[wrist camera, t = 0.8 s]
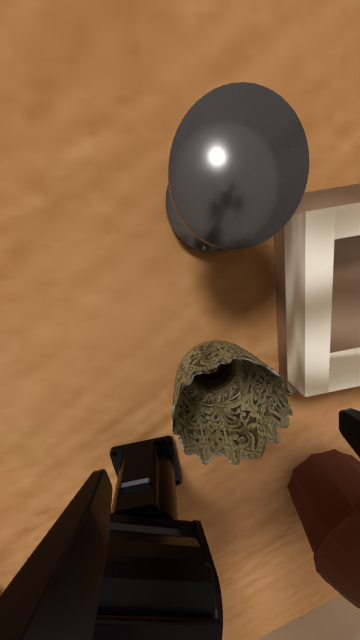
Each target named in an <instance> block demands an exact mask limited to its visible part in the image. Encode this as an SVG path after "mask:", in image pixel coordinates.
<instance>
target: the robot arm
mask: <svg viewBox="0 0 360 640" xmlns="http://www.w3.org/2000/svg"><path fill="white" fill-rule="evenodd" d="M339 430H340V432H341V434H342V436H343V437H344V438H345V440H346V441H347V442H348V443H349V445H350V446H351V447H352V449H353V450H354V451H355V452H356V454H357V455H358V456H359V458H360V411H357V410H355V409H351V408H348V409H344V410H341V411H340V412H339ZM167 441H169V442H167ZM115 452H116V453H115ZM110 457H111V460H112V463H113V466H114V469H115V472H116V475H117V483H116V488H115V493H114V499H113V504H112V509H111V503H112V485H111V482H110V479H109V477H108V474H107V472H106V470H105V469H101V470H97V471H94V472H93V473H92V474H91V475H90V476H89V478H88V479H87V480H86V482H85V483H84V484H83V486H82V487H81V488H80V490H79V491H78V493H77V494H76V495H75V497H74V498H73V499H72V501H71V502H70V503H69V505H68V506H67V507H66V509H65V510H64V511H63V513H62V514H61V515H60V517H59V518H58V519H57V521H56V522H55V523H54V525H53V526H52V527H51V529H50V530H49V531H48V533H47V534H46V535H45V537H44V538H43V539H42V541H41V542H40V543H39V545H38V546H37V547H36V549H35V550H34V551H33V553H32V554H31V555H30V557H29V558H28V559H27V561H26V562H25V563H24V565H23V566H22V567H21V569H20V570H19V571H18V573H17V574H16V576H15V577H14V578H13V580H12V581H11V582H10V584H9V585H8V586H7V588H6V589H5V590H4V592H3V593H2V594H1V596H0V640H222V632H223V609H222V598H221V590H220V584H219V580H218V576H217V572H216V569H215V566H214V563H213V559H212V556H211V553H210V550H209V547H208V544H207V540H206V537H205V534H204V531H203V528H202V525H201V521H199V520H193V521H186V520H178V518H177V503H176V487H175V486H178V485H180V484H181V483H182V479H181V474H180V469H179V465H178V460H177V456H176V451H175V447H174V442H173V438H172V437H171V436H165V437H160V438H155V439H150V440H145V441H141V442H136V443H131V444H126V445H121V446H116V447H113V448H111V450H110Z"/></svg>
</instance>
